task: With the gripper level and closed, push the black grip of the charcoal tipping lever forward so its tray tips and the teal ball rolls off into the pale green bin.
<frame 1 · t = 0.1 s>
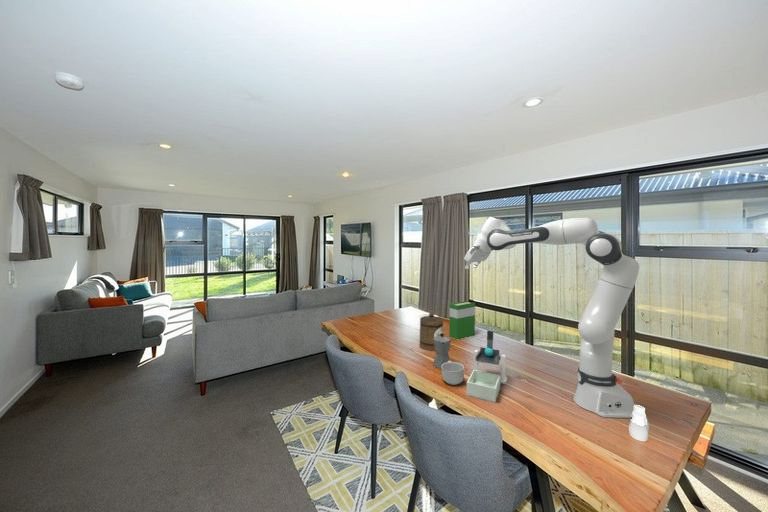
hand: (470, 267, 158), 54 cm above the table, tool tilted 30°, fingers open, 8 cm apart
lever frame: (489, 377, 147), on the table
ball: (488, 352, 144), point 14 cm above the table, tilted 21°, touching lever
bin: (483, 391, 134), on the table
teacup: (452, 380, 145), on the table
cereal box: (462, 336, 210), on the table
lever: (488, 349, 144), point 15 cm above the table, hinge at -5.0°, touching ball
wooden container: (431, 346, 191), on the table
coffeepot: (441, 365, 162), on the table
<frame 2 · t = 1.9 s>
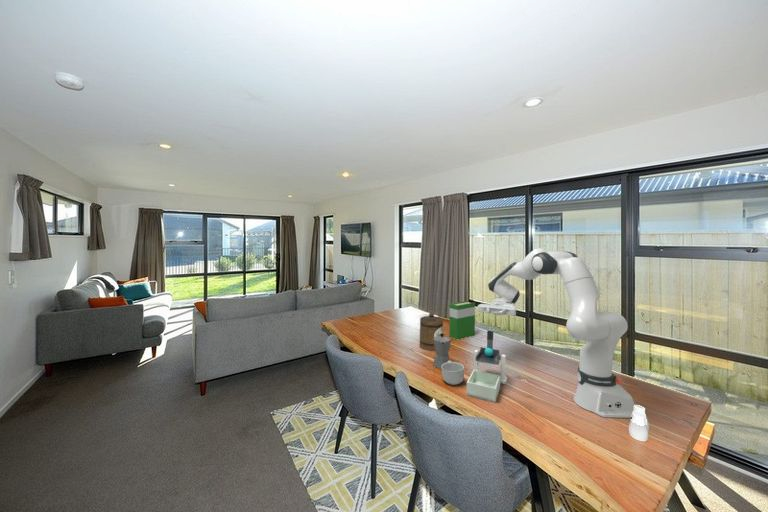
hand: (494, 312, 158), 30 cm above the table, tool horizontal, fingers open, 5 cm apart
nothing on the table moved.
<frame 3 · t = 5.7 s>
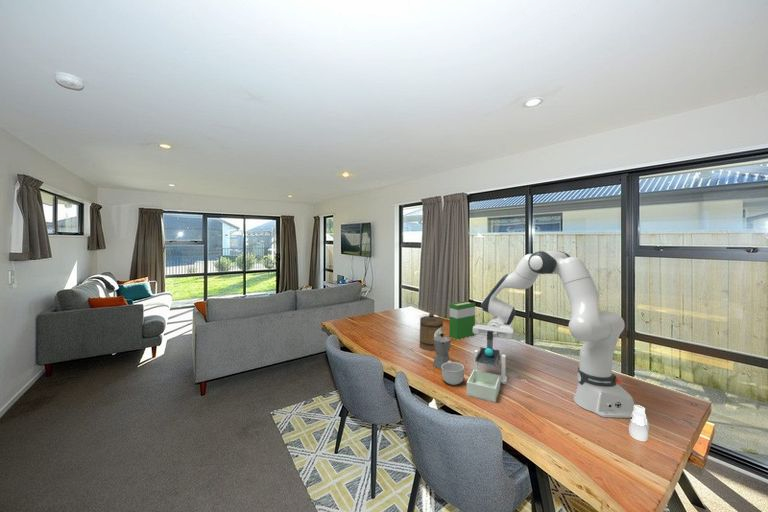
hand: (490, 335, 147), 21 cm above the table, tool horizontal, fingers closed, pressing on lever
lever: (488, 349, 144), point 15 cm above the table, hinge at -2.5°, touching ball, gripper
everything else where it was.
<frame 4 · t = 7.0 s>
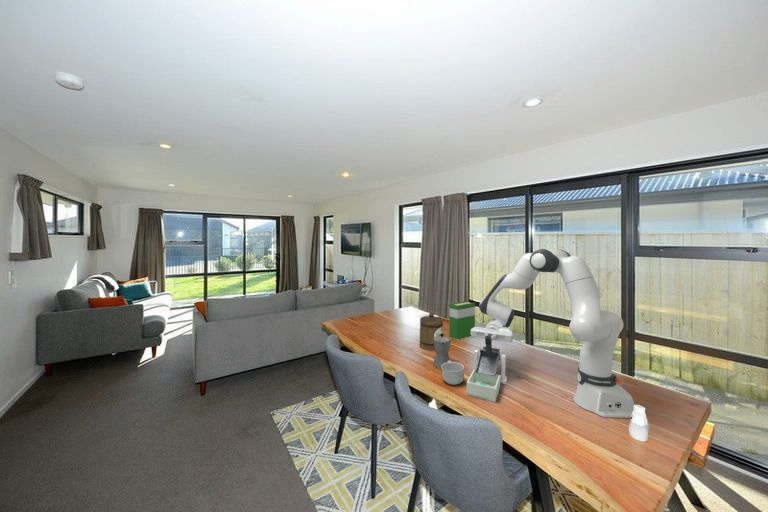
hand: (488, 339, 143), 21 cm above the table, tool horizontal, fingers closed, pressing on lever
ball: (482, 388, 131), point 3 cm above the table, tilted 135°, touching bin
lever: (488, 354, 142), point 14 cm above the table, hinge at 24.7°, touching gripper
everything else where it was.
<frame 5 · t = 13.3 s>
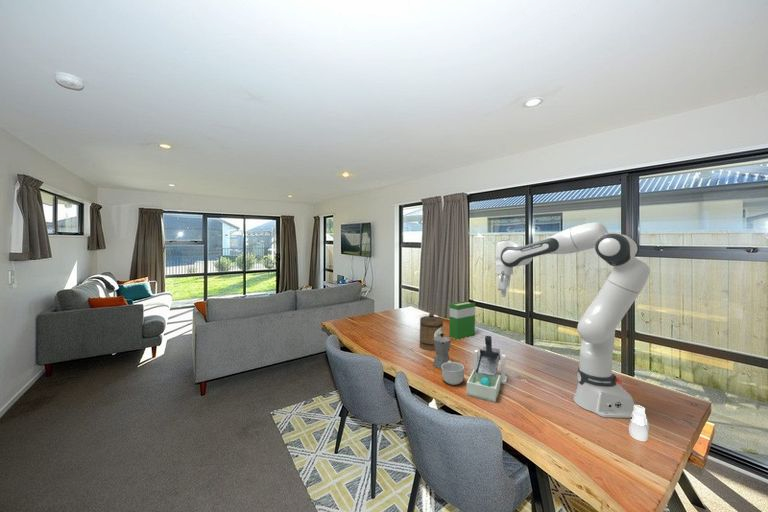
hand: (503, 296, 155), 39 cm above the table, tool pointing down, fingers closed
ball: (485, 381, 137), point 3 cm above the table, tilted 54°, touching bin
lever: (488, 354, 142), point 14 cm above the table, hinge at 24.8°
everything else where it was.
at the end: ball 3.4 cm from the bin (horizontally); ball point 3.0 cm above the table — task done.
